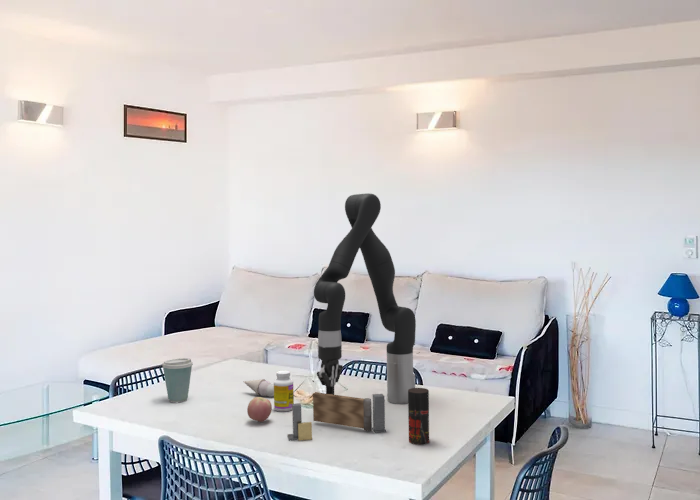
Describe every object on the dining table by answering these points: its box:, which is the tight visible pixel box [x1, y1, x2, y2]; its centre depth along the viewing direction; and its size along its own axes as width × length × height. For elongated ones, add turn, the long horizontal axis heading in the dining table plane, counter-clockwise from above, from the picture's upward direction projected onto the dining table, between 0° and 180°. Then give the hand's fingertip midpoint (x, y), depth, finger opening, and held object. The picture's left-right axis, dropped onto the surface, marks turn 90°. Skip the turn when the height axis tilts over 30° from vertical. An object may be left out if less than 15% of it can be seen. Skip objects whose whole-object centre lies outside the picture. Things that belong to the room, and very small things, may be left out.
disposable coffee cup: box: [162, 357, 193, 403], centre depth 246 cm, size 11×11×15 cm
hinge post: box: [372, 393, 387, 434], centre depth 208 cm, size 4×4×11 cm
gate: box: [312, 391, 373, 432], centre depth 211 cm, size 20×2×10 cm, turn 61°
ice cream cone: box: [243, 378, 274, 398], centre depth 251 cm, size 6×6×15 cm
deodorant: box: [407, 387, 430, 446], centre depth 197 cm, size 6×6×15 cm
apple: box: [246, 396, 273, 423], centre depth 219 cm, size 8×8×8 cm
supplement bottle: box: [273, 370, 295, 413], centre depth 232 cm, size 7×7×13 cm
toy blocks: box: [286, 403, 313, 442], centre depth 203 cm, size 7×5×10 cm
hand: (330, 397), depth 219 cm, fingers closed
